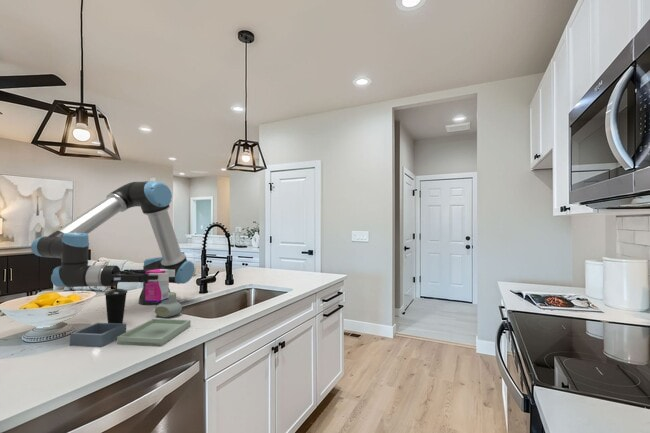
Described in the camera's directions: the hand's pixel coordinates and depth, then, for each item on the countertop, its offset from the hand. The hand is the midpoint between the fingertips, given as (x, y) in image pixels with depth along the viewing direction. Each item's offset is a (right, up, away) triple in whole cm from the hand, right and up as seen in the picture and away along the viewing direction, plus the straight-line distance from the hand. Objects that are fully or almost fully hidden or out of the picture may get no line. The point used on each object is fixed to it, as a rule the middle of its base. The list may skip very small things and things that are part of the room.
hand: (171, 275), depth 117 cm
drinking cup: (-27, -22, +7) cm, 36 cm away
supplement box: (-5, -10, -1) cm, 11 cm away
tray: (-5, -22, -1) cm, 23 cm away
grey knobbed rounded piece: (-12, -23, +22) cm, 34 cm away
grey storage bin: (-23, -22, -7) cm, 32 cm away
